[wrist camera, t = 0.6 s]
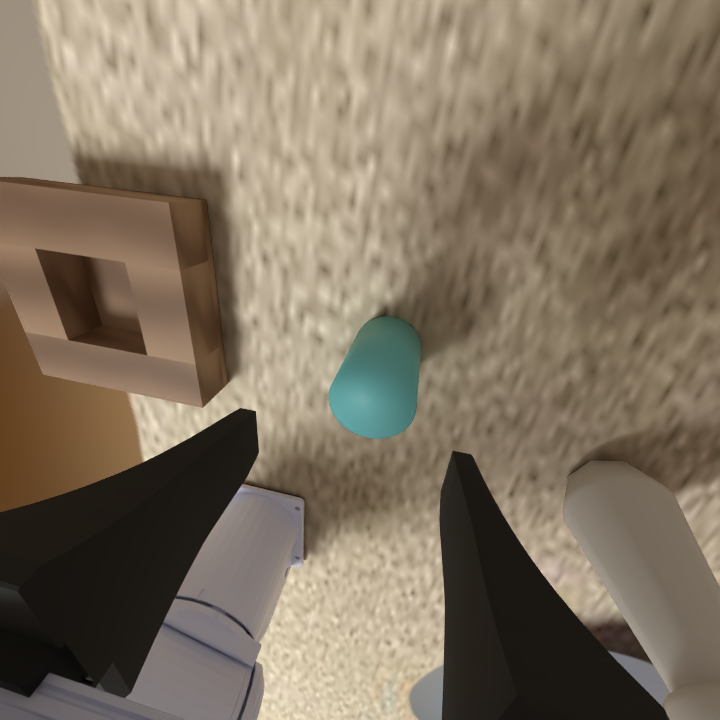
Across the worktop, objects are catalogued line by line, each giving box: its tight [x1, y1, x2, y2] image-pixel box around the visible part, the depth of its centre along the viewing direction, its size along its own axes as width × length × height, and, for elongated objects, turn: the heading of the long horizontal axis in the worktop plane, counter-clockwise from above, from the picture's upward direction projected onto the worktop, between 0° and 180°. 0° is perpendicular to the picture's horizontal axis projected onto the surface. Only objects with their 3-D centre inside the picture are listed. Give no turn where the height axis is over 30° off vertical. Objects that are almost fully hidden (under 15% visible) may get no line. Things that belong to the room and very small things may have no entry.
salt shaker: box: [563, 460, 720, 720], centre depth 16 cm, size 6×6×13 cm
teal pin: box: [329, 316, 421, 439], centre depth 18 cm, size 4×4×6 cm
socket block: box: [0, 177, 228, 408], centre depth 21 cm, size 12×12×3 cm
